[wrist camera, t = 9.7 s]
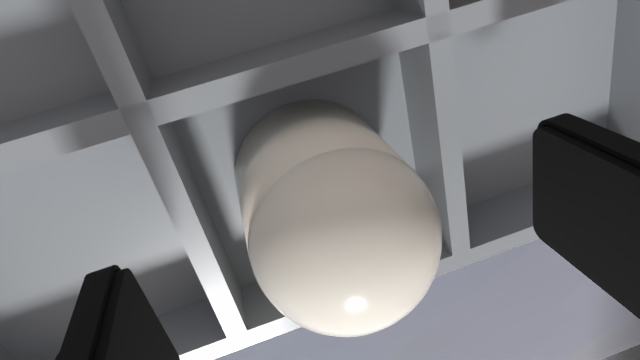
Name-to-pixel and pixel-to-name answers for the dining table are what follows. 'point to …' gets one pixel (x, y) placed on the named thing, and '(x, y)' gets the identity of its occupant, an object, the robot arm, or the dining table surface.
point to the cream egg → (334, 220)
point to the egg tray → (248, 109)
